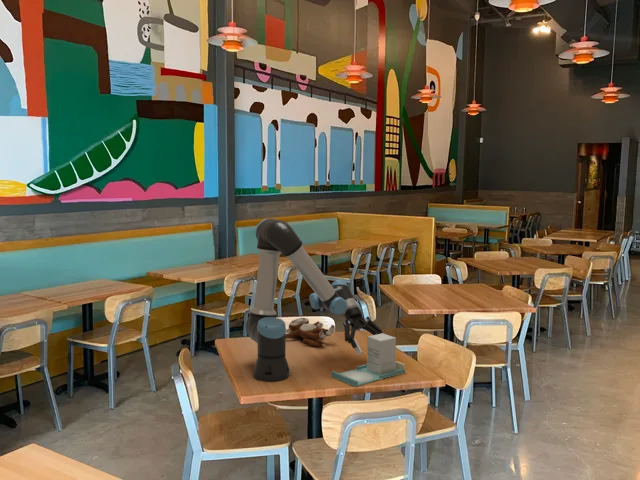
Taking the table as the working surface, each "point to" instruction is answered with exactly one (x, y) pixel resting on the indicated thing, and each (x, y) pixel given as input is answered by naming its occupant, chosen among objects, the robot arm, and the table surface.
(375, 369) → the supplement box
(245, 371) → the table surface
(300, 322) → the toy
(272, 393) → the table surface
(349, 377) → the teal flat tray
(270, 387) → the table surface
